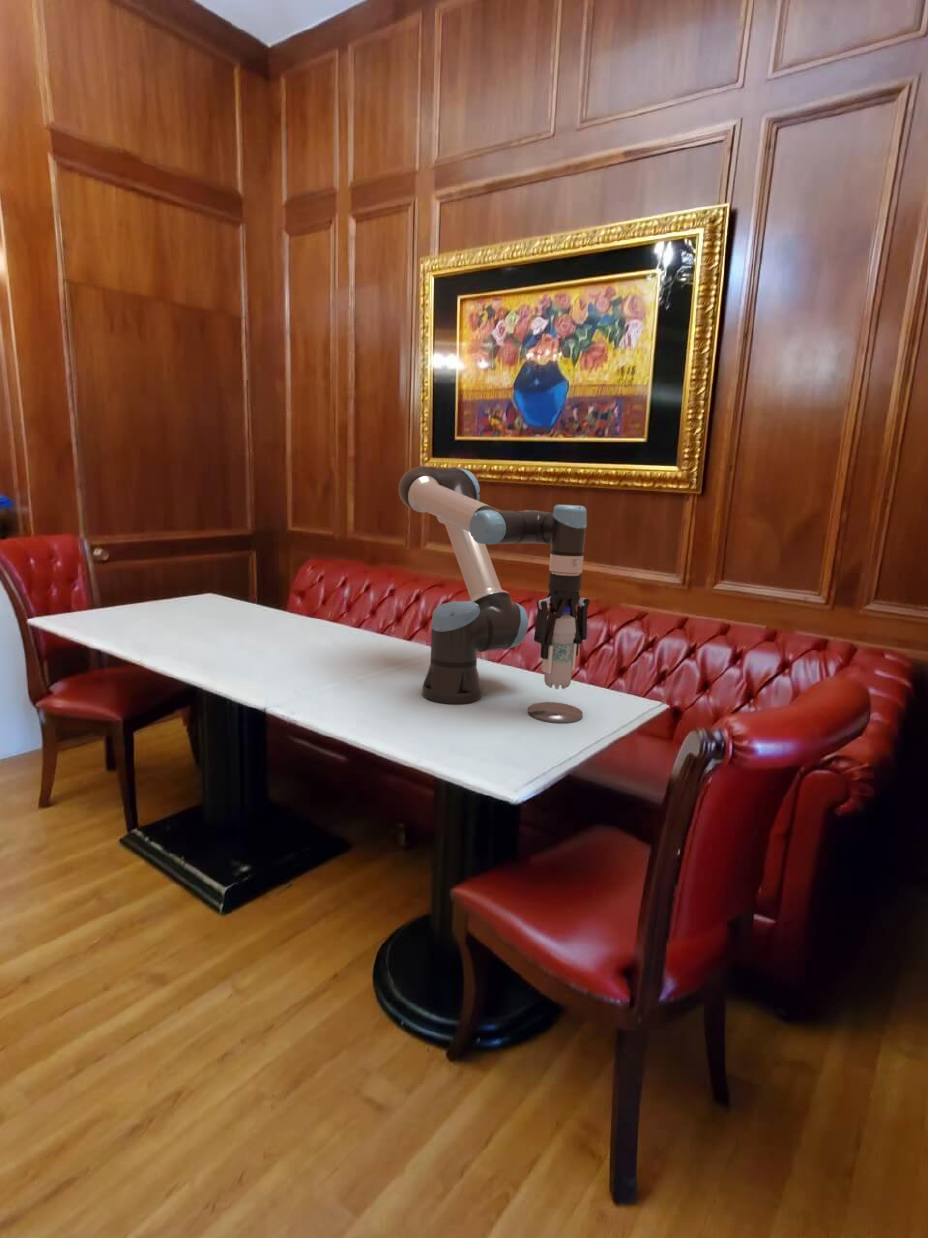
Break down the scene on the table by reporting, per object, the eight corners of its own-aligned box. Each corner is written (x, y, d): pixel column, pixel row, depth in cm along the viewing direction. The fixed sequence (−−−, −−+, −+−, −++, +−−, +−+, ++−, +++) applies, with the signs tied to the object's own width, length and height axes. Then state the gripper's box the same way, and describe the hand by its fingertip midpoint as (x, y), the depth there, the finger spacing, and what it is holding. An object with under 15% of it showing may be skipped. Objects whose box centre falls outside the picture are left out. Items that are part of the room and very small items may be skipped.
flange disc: (522, 718, 163) (522, 715, 162) (534, 702, 175) (534, 699, 175) (577, 726, 159) (578, 723, 159) (586, 709, 171) (586, 706, 171)
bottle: (577, 688, 165) (584, 604, 161) (556, 692, 161) (562, 606, 157) (557, 681, 170) (564, 600, 166) (536, 684, 166) (542, 601, 162)
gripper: (540, 576, 152) (533, 678, 157) (608, 574, 162) (600, 671, 166) (521, 571, 159) (515, 670, 163) (588, 570, 168) (580, 663, 172)
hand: (558, 670), depth 165 cm, fingers closed on bottle, 6 cm apart
